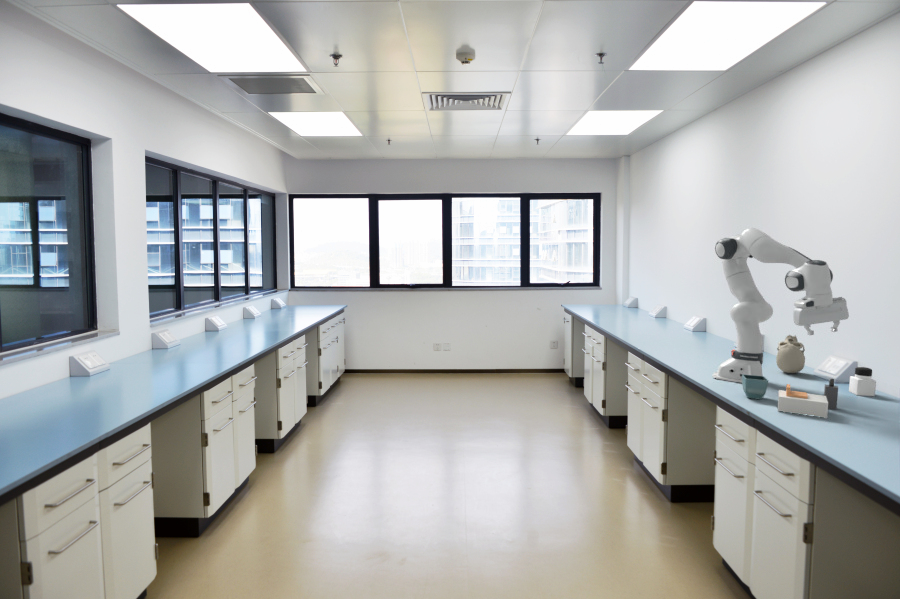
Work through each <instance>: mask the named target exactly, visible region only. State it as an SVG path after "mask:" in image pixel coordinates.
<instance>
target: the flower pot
mask: <svg viewBox="0 0 900 599" xmlns="http://www.w3.org/2000/svg"><path fill="white" fill-rule="evenodd" d="M741 384H742V389H743V393H744V394H745V396H746V397H747V398H748V399H754V398H755V399H757V400H762V399H763V398H764V397H765V395H766V393H767V389H768V385H769V379H768V378H766V377H765V376H764V375H763V376H755V375H742V383H741ZM755 399H754V400H755Z"/></svg>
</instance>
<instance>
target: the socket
mask: <svg viewBox="0 0 900 599" xmlns="http://www.w3.org/2000/svg"><path fill="white" fill-rule="evenodd" d="M807 396H808V398H807V399H806V398H799V397H791V396H786V390H784V389H783V390H782V389H779V390H778V397H777V399H778V400H777V412H778V411H784V412H783V413H785V412H792V413H800V414H807V415H814V416H820V417H825V418H824V419H828V413H829V412H828V410H829V409H828V401H827V398H826V396H824V395H821V394H812V393H807ZM792 413H791V414H792ZM820 417H819V418H820Z"/></svg>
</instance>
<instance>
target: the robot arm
mask: <svg viewBox="0 0 900 599" xmlns="http://www.w3.org/2000/svg"><path fill="white" fill-rule="evenodd" d="M714 250H715V254H716V256H717V257H718V259H721V260H722V263H721V264H722V268H723V273H724V277H725V280H726V282H727V285H728V288H729V290H730V293H731V294H732V295H733V296H734V297H735V298H736V299H737V301H738V302H737V304H735V305H733V306H732V307H731V309H730V311H729V312H730V313H729V314H730V318H731V320H732V321H733V322H734V325H735V330H736V349H732V350H731V351H730V352H731V353H730V354H731V357H730V358H728V359H726V360H725V361H723V362H721V363H720V364H719V366H718V368H717V371H714V372H713V373H712V378H713V377H714V379H715V378H716V379H717V380H722V381H728V382H735V383H741V384H742V375H755V376H764V375H763V363H764V352H763V346H764V336H763V334H762V333H761V330H760V325H759V324H761V323H764V322H767V320H769V319H771V318H772V316H773V314H774V309H773V306H772V304H770V303H769V302H767V301H766V299H765V298H764V296H763V295H762V294H761V292H760V290H759V289H758V287H757V286H756V283H755V281H754V278H753V276H752V273H751V271H750V268H749V266H748V263H747V261H748V258H749V259H752V258H753V259H755V260H757V261H759V262H761V263H763V264H786V265H790V266H792V267H794V269H791V270H789V271H788V272H787V273H785V277H784V282H785V286H786V288H787V289H789V291H791V292H798V293H799V292H804V291H805V296H803V297H801V298H799V299H797V300H795V301H793V306H794V309H793V323H794V325H796V326H798V327H799V326H800V327H802V326H803V327H804V329H805V330H806V331H807V336H814V335H815V332H814V330H813V329H812V330H811V325H816V324H824V323H833V324H832V326H831V327H830V331H831V333H832V332H833V333H835V332H838V327H839V325H840V323H841V322H840V321H844V320H848V319H849V318H850V315H849V309H848V306H847V300H846V298H844V297H842V296H839V297H834V296H833V290H832V286H831V284H832V281H833V280H834V274H833V271H832V269H831V268H830V267H829V265H828V263H827V261H824V260H820V259H811V258H810V257H809V256H807V255H805V254H803V253H801V252H800V251H798V250H796V249H794V248H792V247H790V246H787V245H785V244H783V243H780V242H778V241H777V240H775V239H774V238H772V237H771V236H770V235H769V234H767V233H765V232H763V231H762V230H760V229H759V228H756V227H748V228H747V229H745V230H743V232H741V234H736V235H732V236H728V237H724V238H720V239H719V240H717V242H716V243H715V248H714Z"/></svg>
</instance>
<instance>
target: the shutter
mask: <svg viewBox="0 0 900 599" xmlns="http://www.w3.org/2000/svg"><path fill="white" fill-rule="evenodd" d="M785 391H786V396H791V397H799V398H806V399H807V398H808V396H807V394H808V392H805V391H804V392H803V391H797V390H796V391H795V390H791V383H790V384H788V383H787V384H786V390H785Z"/></svg>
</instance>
